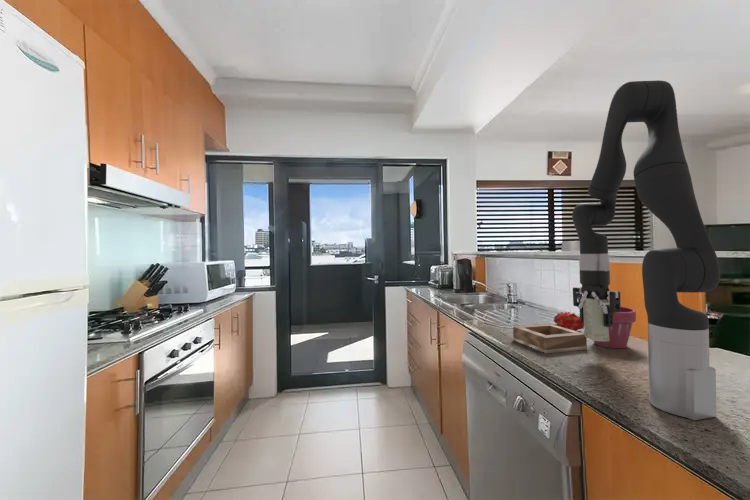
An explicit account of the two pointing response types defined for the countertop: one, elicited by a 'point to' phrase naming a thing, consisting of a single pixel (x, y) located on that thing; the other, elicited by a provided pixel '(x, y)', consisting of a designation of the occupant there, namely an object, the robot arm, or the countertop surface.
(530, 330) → the socket block
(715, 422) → the countertop surface
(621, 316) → the plant pot
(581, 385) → the countertop surface
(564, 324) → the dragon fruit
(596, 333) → the skincare box
